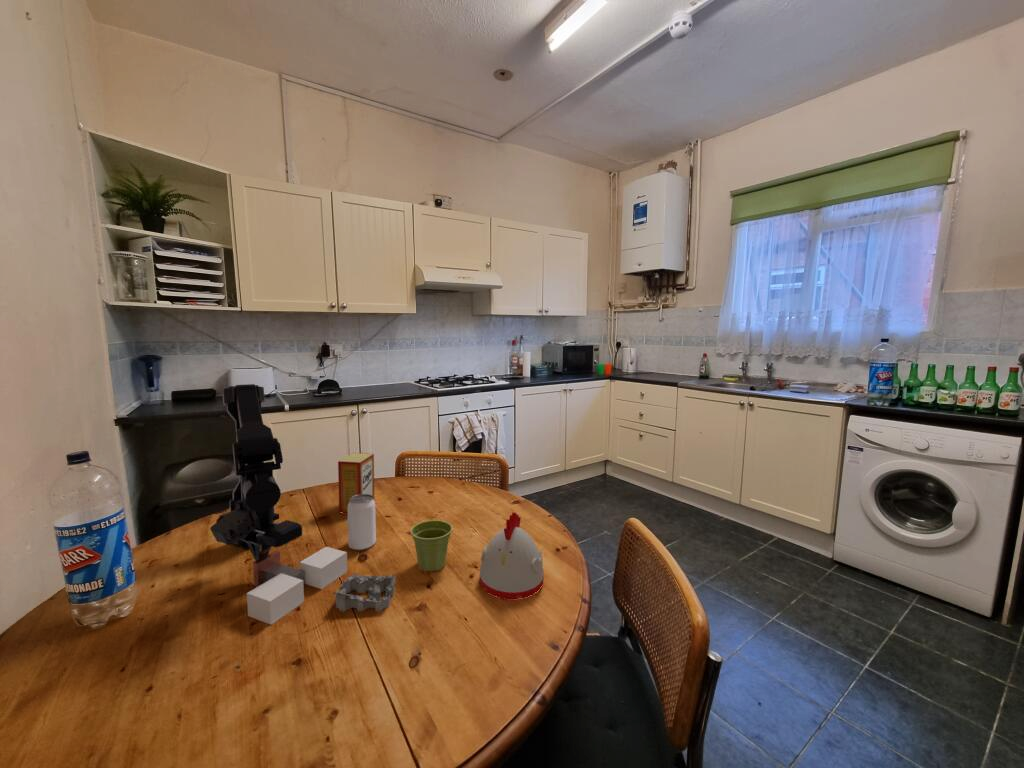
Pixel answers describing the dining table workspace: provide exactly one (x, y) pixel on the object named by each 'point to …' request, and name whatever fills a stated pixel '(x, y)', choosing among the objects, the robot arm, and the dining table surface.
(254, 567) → the l-shaped block
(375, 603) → the egg carton
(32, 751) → the dining table surface
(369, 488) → the baking soda box
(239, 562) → the dining table surface
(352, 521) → the can
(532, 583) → the kitchen timer
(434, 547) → the plant pot
